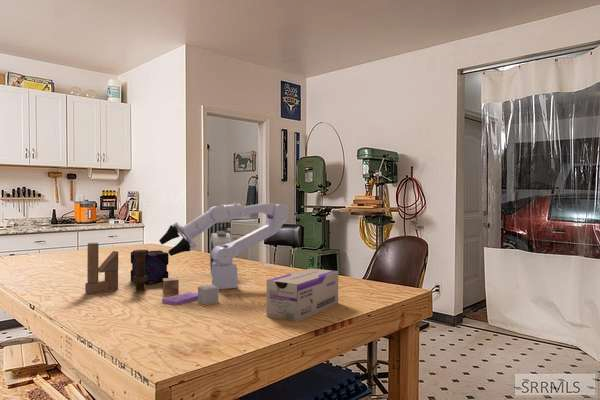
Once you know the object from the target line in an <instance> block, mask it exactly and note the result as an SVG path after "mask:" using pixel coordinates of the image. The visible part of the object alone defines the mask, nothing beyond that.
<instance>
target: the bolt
mask: <svg viewBox="0 0 600 400" xmlns="http://www.w3.org/2000/svg"><path fill="white" fill-rule="evenodd" d="M149 251H150V250H148V249H133V250H132V251H131V252H132V255H136V276H134V277H133V281H134V282H136V284H135V292H144V291H145V290H146V285H145V282H146V281H147V280H148V277H147V276H146V275H145V255H147V254H149Z"/></svg>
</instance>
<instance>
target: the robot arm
mask: <svg viewBox="0 0 600 400" xmlns="http://www.w3.org/2000/svg"><path fill="white" fill-rule="evenodd" d="M259 213H260V214H261V213H263V214H264V215H266V222H265V223H266V224H265V225H263V226H261V227H259V228H257V229H255V230H252V231H251V232H250V233H248V234H245V235H243V236H241V237H240V238H238V239H236V240H234V241H233V240H232V241H231V243H227V244H225V245H222V246H216V247H214V248H213V249H212V251H211V257H212V259H213V260H214V261H213V263H212V275H211V284H210V285H213V286H216V287H218V288H219V290H226V289H238V287H239V286H238V266H237V264H236V263H232V264H231V260H232V261H233V259H234V258H236V257H238V255H239V254H240V253H241V252H243V251H245V250H247V249H249V248H251V247H253V246H254V245H256V244H258V243H260V242H262V241H265V240H267V239H269V238H270V237H272V236H274V235H275V234H278V232H279V231H280V229H281V228H282V227H283V225H284V223H285V222H287V220H288V219H289V214H290V209H289V207H288V205H286V204H284V203H280V204H279V203H266V202H265V203H257V204H251V205H244V206H243V205H242V204H241V203H238V202H232V204H224V203H223V204H220V205H218V206H217V205H215V206H210V207H209V208H208V210H207V211H205V212H204V213H203V214H200V215H199V216H198V217H196V218H194V219H193V220H191V221H190V222H188V223H186V224H185V225H184V226H183V225H180V223H178V222H177V221H176V223H173V224H171V225H169V227H168V229H167V230H166V231H165V233H164V235H162V237H160V239H159V240H158V241H159V243H160V245H164V244H166V243H168V242H170V241H171V240H174V239H176V238H177V239H178V238H180V237H182V239H181V240H180V241H179V242H178V243H177V244H176V245H175V246H173V247H172V248H171V249H169V250H168V251H167V253H169V256H170V257H173V256H174V255H177V254H181V253H185V252H190V251H191V250H192V249H195V248H196V247H197V244H196V242H195V241H194V240H193V239H194V238H197V237H198V236H199V235H201V234H203V233H204V232H205V231H207V230H208V229H209V228H211V227H212V226H213V225H215V224H216V223H217V222H223V221H227V220H235V219H237V220H238V219H242V218H243V216H244V215H249V214H259Z"/></svg>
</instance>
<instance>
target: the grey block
mask: <svg viewBox="0 0 600 400" xmlns="http://www.w3.org/2000/svg"><path fill="white" fill-rule="evenodd" d="M219 290H220V289H219V288H218V287H216V286H213V285H211V284H209V285H203V286H202V285H201V286H197V293H198V299H197V302H198V303H200V304H201V305H204V306H206V305H211V304H212V305H213V304H217V303H219V295H220V293H219V292H220V291H219Z"/></svg>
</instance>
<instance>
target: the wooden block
mask: <svg viewBox="0 0 600 400" xmlns="http://www.w3.org/2000/svg"><path fill="white" fill-rule="evenodd" d="M99 248H100V247H99V242H88V243H87V260H86V261H87V266H86V267H87V269H86V270H87V272H86V273H87V277H86V278H87V279H86V281H87V282H86V283H85V284H84V285H85V286H84V287H85V289H84V291H85V293H86V294H89V295H93V294H98V293H103V292H108V291H110V290H111V291H116V290H118V289H119V251H117V250H112V252H110V253H109V255H108V256H107V258H106V259H104V261H103V262H101V264H100V265H99ZM100 273H101V274H102V273H104V280H99V274H100ZM115 289H116V290H115Z"/></svg>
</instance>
